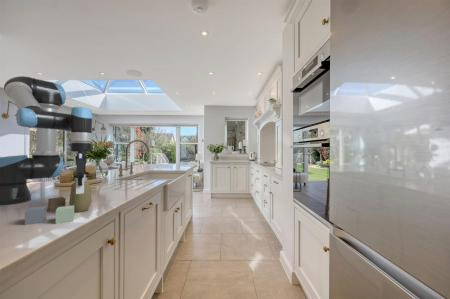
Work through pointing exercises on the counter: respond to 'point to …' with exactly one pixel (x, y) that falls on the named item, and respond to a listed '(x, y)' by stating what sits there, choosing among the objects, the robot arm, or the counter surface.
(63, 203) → the walnut cube
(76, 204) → the squeeze bottle
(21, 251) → the counter surface
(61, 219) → the sage cube
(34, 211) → the blue-grey cube
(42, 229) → the counter surface
